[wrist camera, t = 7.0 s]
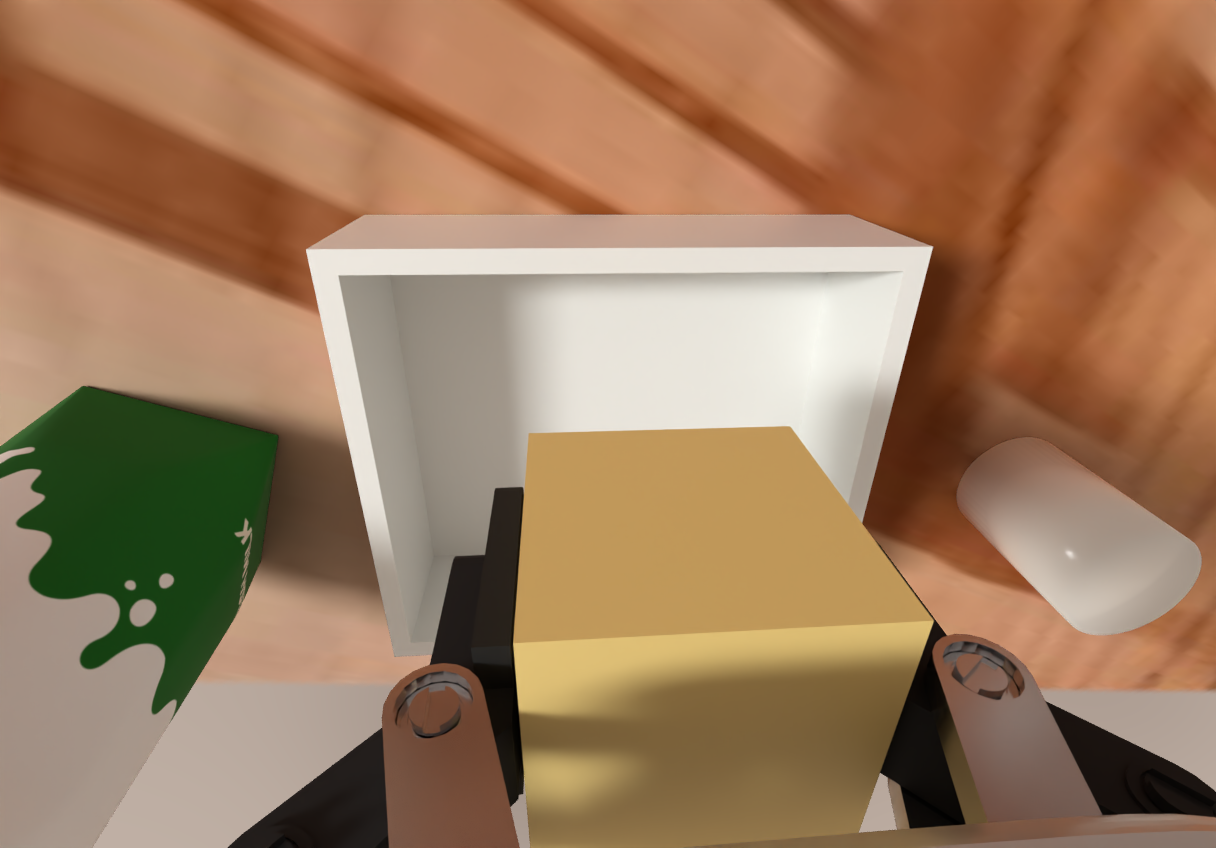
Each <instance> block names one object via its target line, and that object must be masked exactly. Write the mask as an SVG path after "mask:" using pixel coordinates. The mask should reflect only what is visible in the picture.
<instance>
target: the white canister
mask: <svg viewBox="0 0 1216 848" xmlns="http://www.w3.org/2000/svg"><path fill="white" fill-rule="evenodd" d="M956 498H957V505H958V508H959V510H960V512H961V513H962V514H963V516H964V517H965V518H966V519H967V520H968V521H969V522H970V523H971V524H972V525H973V526H974V527H975V528H976V529H977V530H978V531H979V532H980V533H981V534H982V535H983V536H984V537H985V538H986V539H987V540H988V541H989V542H990V543H991V544H992V545H993V546H994V547H995V548H996V549H997V550H998V551H999V552H1000V553H1001V554H1002V555H1003V556H1004V557H1005V558H1006V559H1007V560H1008V561H1009V562H1010V563H1011V564H1012V565H1013V566H1014V567H1015V568H1016V569H1017V570H1018V571H1019V572H1020V574H1021V575H1022V576H1023V577H1024V578H1025V579H1026V580H1027V581H1028V582H1029V583H1030V584H1031V585H1032V586H1033V587H1034V588H1035V589H1036V590H1037V591H1038V592H1039V593H1040V594H1041V595H1042V596H1043V597H1044V598H1045V599H1046V600H1047V601H1048V602H1049V603H1050V604H1051V605H1052V606H1053V607H1054V608H1055V609H1056V610H1057V611H1058V612H1059V613H1060V614H1061V615H1062V616H1063V617H1064V618H1065V619H1066V620H1067V621H1068V622H1069V623H1070V624H1071V625H1072V626H1073V627H1074V628H1075V629H1077V630H1079V631H1081V632H1083V633H1087V634H1091V635H1113V634H1118V633H1123V632H1127V631H1130V630H1133V629H1136V628H1139V627H1141V626H1143V625H1146V624H1148V623H1150V622H1152V621H1154V620H1155V619H1157V618H1159V617H1160V616H1162V615H1164V614H1165V613H1166V612H1168V611H1169V610H1170V609H1172V608H1173V607H1174V606H1175V605H1177V604H1178V603H1179V602H1180V601H1181V600H1182V599H1183V598H1184V597H1185V596H1186V594H1187V593H1188V592H1189V591H1190V589H1191V588H1192V587H1193V585H1194V584H1195V582H1196V580H1197V578H1198V575H1199V573H1200V569H1201V565H1202V558H1201V553H1200V551H1199V548H1198V547H1197V546H1196V544H1195V543H1194V542H1192V541H1191V540H1190V539H1188V538H1187V537H1185V536H1184V535H1183V534H1181V533H1180V532H1178V531H1177V530H1175V529H1174V528H1172V527H1171V526H1170V525H1168V524H1167V523H1165V522H1164V521H1162V520H1161V519H1159V518H1158V517H1157V516H1155V515H1154V514H1152V513H1151V512H1149V511H1148V510H1146V509H1145V508H1144V507H1142V506H1141V505H1139V504H1138V503H1136V502H1135V501H1133V500H1132V499H1131V498H1129V497H1128V496H1126V495H1125V494H1123V493H1122V492H1120V491H1119V490H1117V489H1116V488H1115V487H1113V486H1112V485H1110V484H1109V483H1107V482H1106V481H1104V480H1103V479H1102V478H1100V477H1099V476H1097V475H1096V474H1094V473H1093V472H1091V471H1090V470H1089V469H1087V468H1086V467H1084V466H1083V465H1081V464H1080V463H1078V462H1077V461H1076V460H1074V459H1073V458H1071V457H1070V456H1068V455H1067V454H1065V453H1064V452H1063V451H1061V450H1060V449H1058V448H1057V447H1055V446H1054V445H1052V444H1051V443H1049V442H1047V441H1046V440H1043V439H1040V438H1034V437H1022V438H1015V439H1011V440H1008V441H1005V442H1002V443H1000V444H998V445H996V446H994V447H992V448H990V449H989V450H987V451H985V452H984V453H983V454H981V455H980V456H979V457H978V458H977V459H976V460H975V461H974V462H973V463H972V464H971V465H970V466H969V467H968V468H967V470H966V471H965V473H964V474H963V476H962V478H961V480H960V482H959V485H958V489H957V495H956Z"/></svg>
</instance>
